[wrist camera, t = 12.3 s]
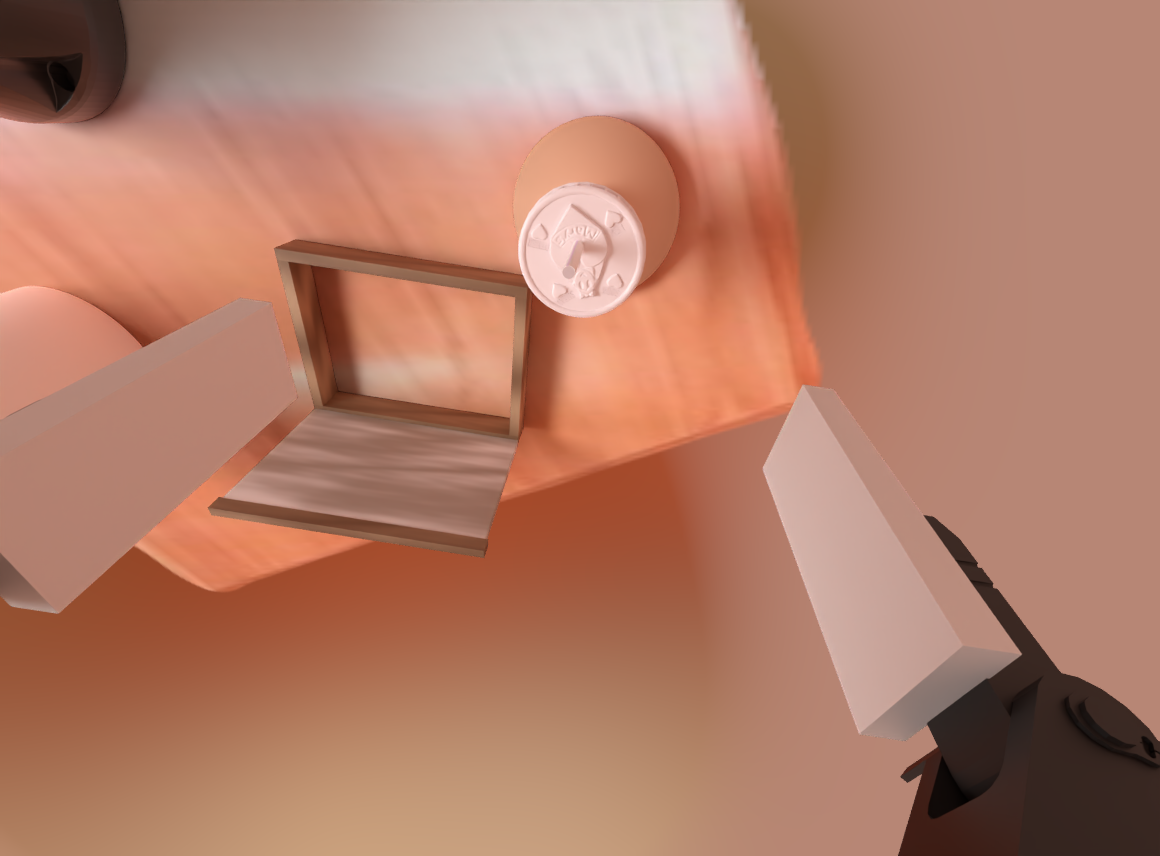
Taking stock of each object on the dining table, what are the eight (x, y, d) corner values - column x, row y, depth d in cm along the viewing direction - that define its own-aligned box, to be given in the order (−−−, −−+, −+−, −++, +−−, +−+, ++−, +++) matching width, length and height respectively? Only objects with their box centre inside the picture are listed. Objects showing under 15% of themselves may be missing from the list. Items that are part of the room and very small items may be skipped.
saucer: (520, 102, 28) (516, 102, 27) (697, 130, 28) (700, 131, 27) (513, 280, 35) (509, 285, 34) (657, 303, 35) (658, 308, 34)
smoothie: (636, 151, 28) (639, 185, 17) (648, 258, 32) (657, 345, 20) (536, 173, 29) (474, 218, 18) (557, 273, 33) (518, 364, 21)
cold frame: (292, 239, 34) (111, 311, 22) (536, 277, 34) (485, 370, 22) (332, 412, 43) (218, 529, 31) (524, 442, 43) (484, 571, 31)
